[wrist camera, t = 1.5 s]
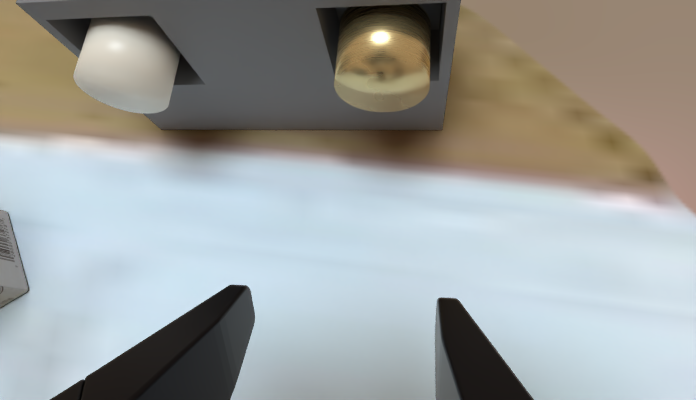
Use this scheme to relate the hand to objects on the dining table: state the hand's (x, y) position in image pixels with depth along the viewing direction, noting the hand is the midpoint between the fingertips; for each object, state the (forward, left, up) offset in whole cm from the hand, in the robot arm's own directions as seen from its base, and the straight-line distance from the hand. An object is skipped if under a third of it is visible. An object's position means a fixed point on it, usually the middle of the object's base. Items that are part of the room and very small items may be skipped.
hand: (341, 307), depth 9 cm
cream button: (+12, +11, -8) cm, 18 cm away
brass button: (+11, -1, -8) cm, 14 cm away
